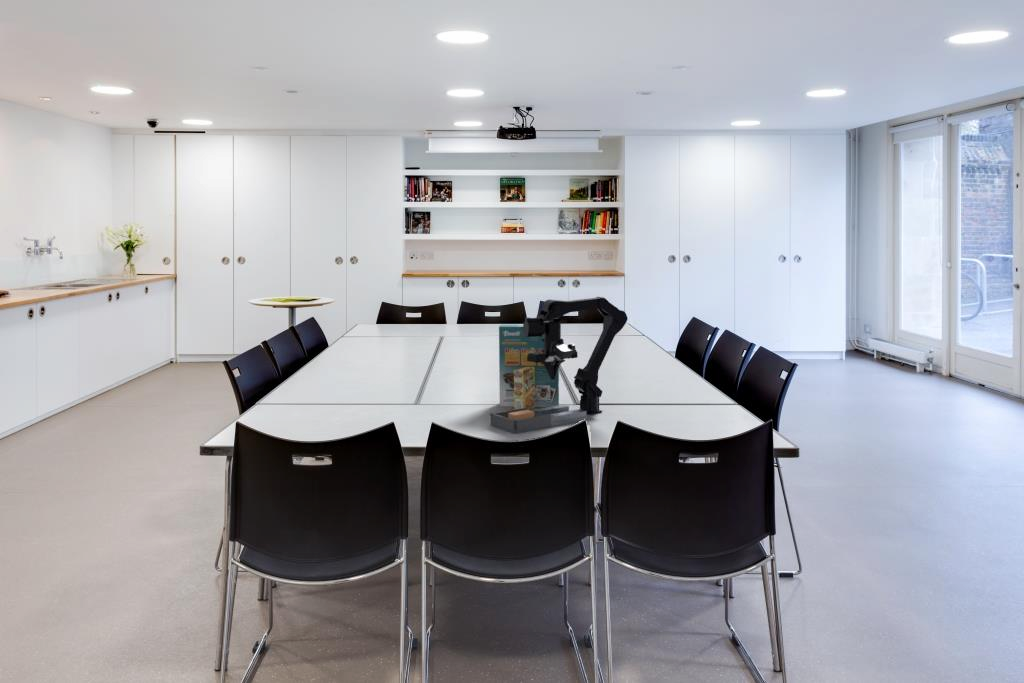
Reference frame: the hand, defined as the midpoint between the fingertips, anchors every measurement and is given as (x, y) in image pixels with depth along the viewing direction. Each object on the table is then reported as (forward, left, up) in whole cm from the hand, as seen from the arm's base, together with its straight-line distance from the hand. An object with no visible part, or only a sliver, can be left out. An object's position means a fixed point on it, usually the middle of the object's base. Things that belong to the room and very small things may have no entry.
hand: (552, 379), depth 298 cm
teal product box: (-4, -19, -13) cm, 24 cm away
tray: (+18, +6, -13) cm, 23 cm away
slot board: (+3, +6, -13) cm, 15 cm away
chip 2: (+16, +6, -12) cm, 21 cm away
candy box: (+2, -14, -13) cm, 19 cm away
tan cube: (+20, +6, -12) cm, 24 cm away
